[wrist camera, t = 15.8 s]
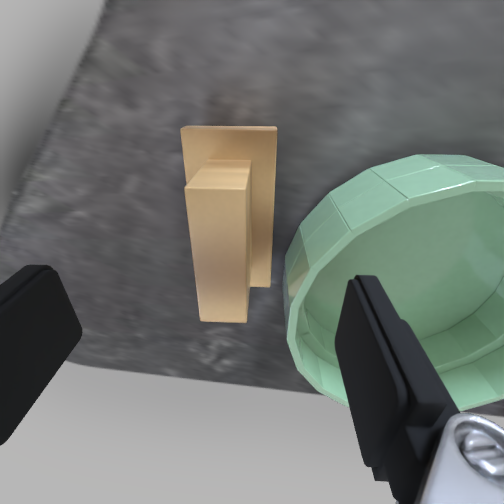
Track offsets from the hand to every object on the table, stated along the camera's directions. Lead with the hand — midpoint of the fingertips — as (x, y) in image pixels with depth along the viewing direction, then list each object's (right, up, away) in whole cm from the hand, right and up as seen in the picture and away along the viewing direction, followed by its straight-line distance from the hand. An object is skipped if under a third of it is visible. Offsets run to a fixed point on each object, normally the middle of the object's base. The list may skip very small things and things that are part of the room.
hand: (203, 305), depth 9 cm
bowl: (+12, 0, +12) cm, 17 cm away
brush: (+1, +5, +10) cm, 11 cm away
